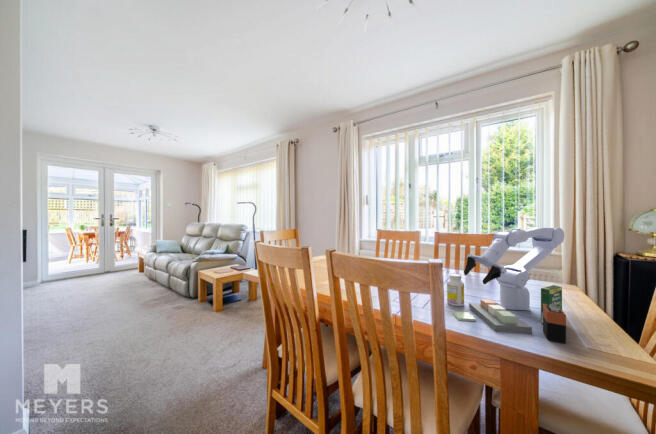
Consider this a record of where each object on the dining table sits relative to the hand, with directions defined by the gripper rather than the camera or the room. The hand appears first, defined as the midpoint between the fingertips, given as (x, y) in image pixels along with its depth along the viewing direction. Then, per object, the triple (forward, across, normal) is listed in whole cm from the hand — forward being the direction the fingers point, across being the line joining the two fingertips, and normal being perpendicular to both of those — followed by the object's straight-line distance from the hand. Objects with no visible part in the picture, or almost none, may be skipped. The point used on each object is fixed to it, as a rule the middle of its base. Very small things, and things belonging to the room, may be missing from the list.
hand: (473, 278), depth 95 cm
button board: (+7, +11, +9) cm, 16 cm away
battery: (+4, +27, +6) cm, 28 cm away
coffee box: (-4, +22, +16) cm, 28 cm away
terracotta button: (+4, +6, +11) cm, 13 cm away
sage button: (+8, +15, +4) cm, 18 cm away
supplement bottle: (+10, -5, +13) cm, 17 cm away
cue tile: (+15, +4, +4) cm, 16 cm away
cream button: (+6, +11, +7) cm, 14 cm away
